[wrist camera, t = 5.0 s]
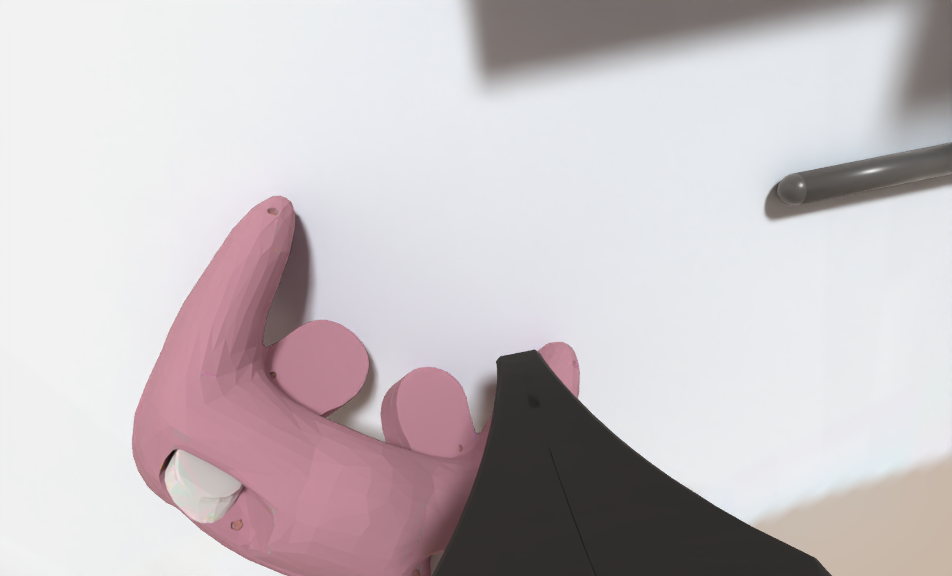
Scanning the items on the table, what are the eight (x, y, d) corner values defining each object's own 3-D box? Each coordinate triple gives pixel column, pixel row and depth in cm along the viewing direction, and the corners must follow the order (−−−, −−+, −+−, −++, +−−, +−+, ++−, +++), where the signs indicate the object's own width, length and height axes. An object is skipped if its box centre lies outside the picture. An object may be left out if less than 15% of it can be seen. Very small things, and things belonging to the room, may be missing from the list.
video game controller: (226, 265, 14) (58, 527, 10) (260, 162, 11) (33, 486, 6) (506, 392, 17) (475, 630, 13) (597, 342, 14) (596, 637, 10)
